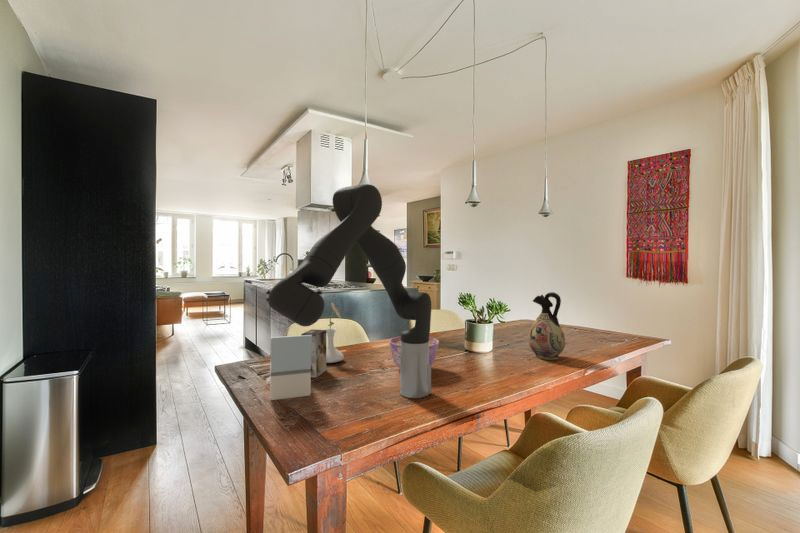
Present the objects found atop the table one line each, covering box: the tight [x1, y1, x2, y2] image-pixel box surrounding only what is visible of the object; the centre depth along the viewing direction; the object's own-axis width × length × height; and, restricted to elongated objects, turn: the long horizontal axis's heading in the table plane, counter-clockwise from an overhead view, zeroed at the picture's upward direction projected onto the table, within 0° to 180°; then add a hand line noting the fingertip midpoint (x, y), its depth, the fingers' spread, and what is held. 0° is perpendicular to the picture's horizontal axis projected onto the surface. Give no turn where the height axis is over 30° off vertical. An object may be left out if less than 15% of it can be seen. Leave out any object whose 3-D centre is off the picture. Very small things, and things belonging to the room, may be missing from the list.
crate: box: [269, 361, 312, 401], centre depth 118 cm, size 12×11×9 cm
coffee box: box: [300, 329, 327, 378], centre depth 137 cm, size 9×6×16 cm
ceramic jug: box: [528, 291, 566, 361], centre depth 162 cm, size 17×15×30 cm
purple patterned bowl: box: [388, 335, 440, 368], centre depth 143 cm, size 20×20×12 cm
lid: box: [270, 334, 312, 372], centre depth 111 cm, size 12×11×1 cm
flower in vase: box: [324, 302, 345, 364], centre depth 154 cm, size 13×11×25 cm
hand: (294, 294), depth 101 cm, fingers open, 8 cm apart
